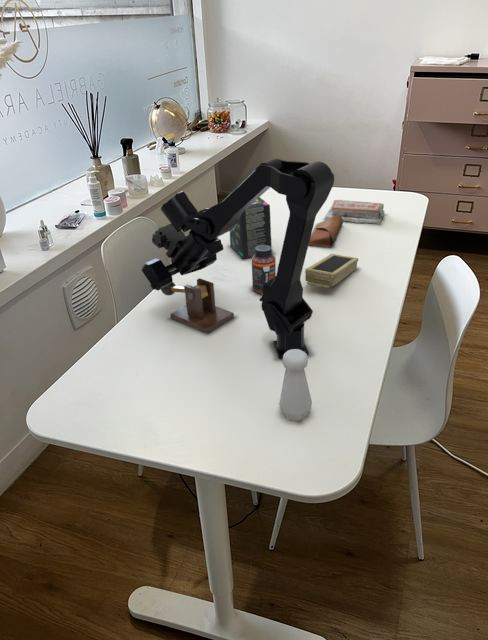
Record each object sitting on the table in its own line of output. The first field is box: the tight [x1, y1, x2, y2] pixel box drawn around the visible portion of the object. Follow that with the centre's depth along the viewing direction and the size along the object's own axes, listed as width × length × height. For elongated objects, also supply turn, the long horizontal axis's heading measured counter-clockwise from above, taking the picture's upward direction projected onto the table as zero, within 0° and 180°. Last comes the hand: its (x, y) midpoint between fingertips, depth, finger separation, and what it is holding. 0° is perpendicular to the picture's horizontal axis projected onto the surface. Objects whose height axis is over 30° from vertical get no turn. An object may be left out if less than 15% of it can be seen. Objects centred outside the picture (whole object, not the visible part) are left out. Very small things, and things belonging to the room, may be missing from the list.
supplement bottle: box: [251, 245, 277, 294], centre depth 140 cm, size 6×6×11 cm
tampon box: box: [229, 196, 273, 259], centre depth 161 cm, size 11×9×15 cm
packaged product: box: [324, 199, 385, 225], centre depth 184 cm, size 18×5×10 cm
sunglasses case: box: [308, 215, 344, 249], centre depth 172 cm, size 18×7×7 cm, turn 165°
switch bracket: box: [169, 278, 235, 335], centre depth 129 cm, size 12×9×9 cm
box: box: [304, 253, 359, 289], centre depth 147 cm, size 8×22×5 cm, turn 155°
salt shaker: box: [278, 349, 313, 422], centre depth 98 cm, size 6×6×13 cm
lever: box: [160, 281, 208, 298], centre depth 132 cm, size 14×4×4 cm, turn 51°
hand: (166, 280), depth 134 cm, fingers open, 9 cm apart
